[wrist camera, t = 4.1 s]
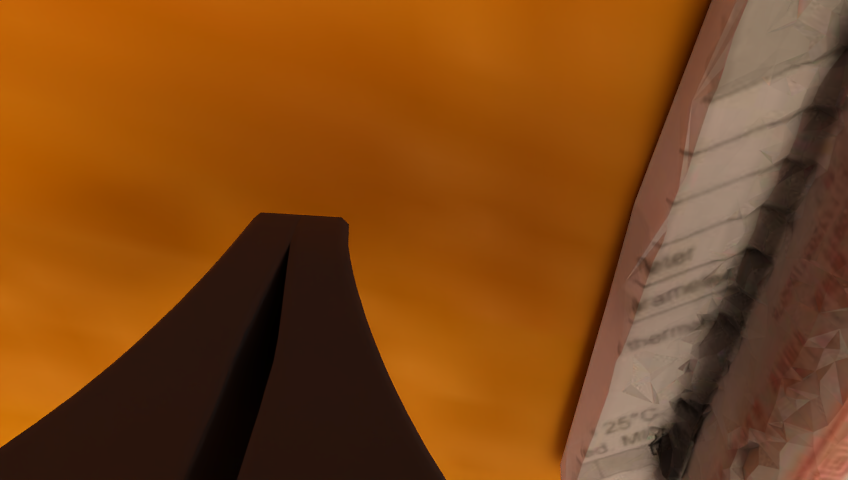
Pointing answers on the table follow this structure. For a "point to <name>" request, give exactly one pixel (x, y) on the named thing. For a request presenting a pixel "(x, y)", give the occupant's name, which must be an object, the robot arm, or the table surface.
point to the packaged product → (733, 267)
